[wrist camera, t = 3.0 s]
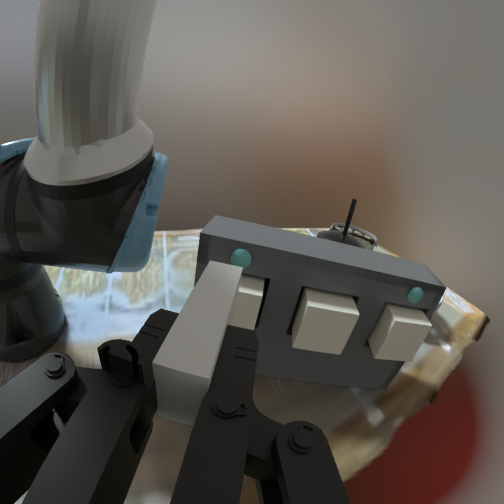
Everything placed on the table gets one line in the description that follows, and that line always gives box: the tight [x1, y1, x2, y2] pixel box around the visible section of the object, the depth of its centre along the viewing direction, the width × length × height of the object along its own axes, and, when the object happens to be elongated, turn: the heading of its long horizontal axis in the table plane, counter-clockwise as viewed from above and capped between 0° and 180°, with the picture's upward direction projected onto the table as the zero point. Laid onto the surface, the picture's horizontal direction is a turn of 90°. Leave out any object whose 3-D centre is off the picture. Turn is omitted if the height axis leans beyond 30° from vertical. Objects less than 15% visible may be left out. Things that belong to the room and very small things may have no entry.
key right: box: [368, 302, 432, 361], centre depth 26 cm, size 4×5×5 cm
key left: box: [231, 273, 265, 330], centre depth 26 cm, size 4×5×5 cm
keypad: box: [194, 215, 446, 389], centre depth 30 cm, size 6×26×16 cm, turn 84°
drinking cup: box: [317, 199, 366, 249], centre depth 40 cm, size 8×8×20 cm
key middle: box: [292, 286, 359, 355], centre depth 26 cm, size 4×5×5 cm
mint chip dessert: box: [330, 223, 377, 251], centre depth 65 cm, size 12×6×10 cm, turn 76°
